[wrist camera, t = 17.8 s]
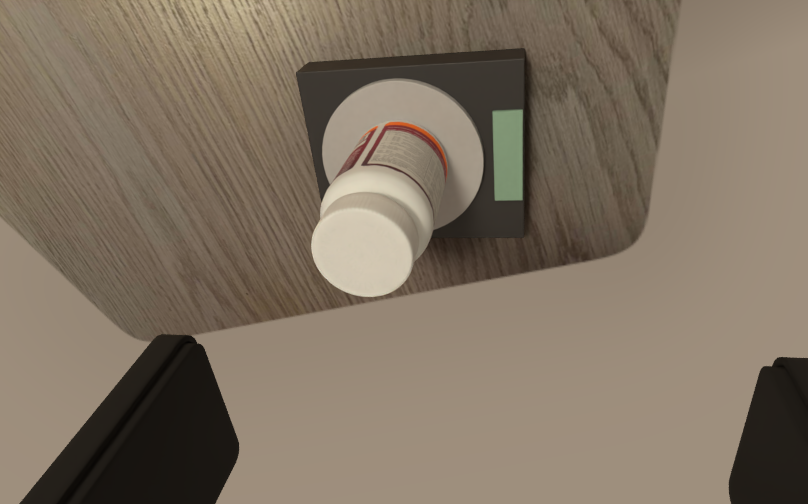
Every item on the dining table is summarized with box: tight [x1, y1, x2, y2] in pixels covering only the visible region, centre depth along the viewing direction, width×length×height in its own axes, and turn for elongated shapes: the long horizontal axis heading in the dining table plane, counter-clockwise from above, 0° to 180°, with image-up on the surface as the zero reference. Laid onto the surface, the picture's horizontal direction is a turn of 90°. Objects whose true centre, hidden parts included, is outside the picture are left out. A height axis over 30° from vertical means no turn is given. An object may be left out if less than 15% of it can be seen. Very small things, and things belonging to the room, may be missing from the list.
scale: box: [296, 48, 525, 238], centre depth 39 cm, size 14×12×3 cm
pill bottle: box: [311, 120, 448, 297], centre depth 33 cm, size 6×6×11 cm
